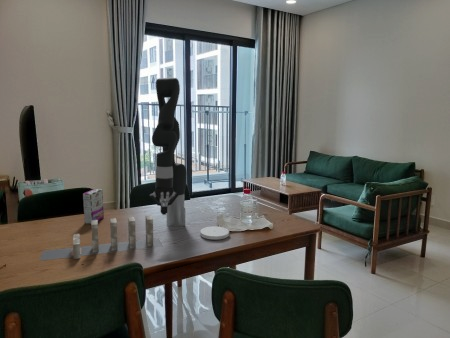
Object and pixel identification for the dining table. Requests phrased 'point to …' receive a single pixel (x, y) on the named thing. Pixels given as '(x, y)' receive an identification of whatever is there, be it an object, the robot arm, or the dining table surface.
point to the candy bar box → (93, 205)
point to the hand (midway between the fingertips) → (163, 214)
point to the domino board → (102, 249)
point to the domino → (76, 246)
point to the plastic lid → (214, 232)
